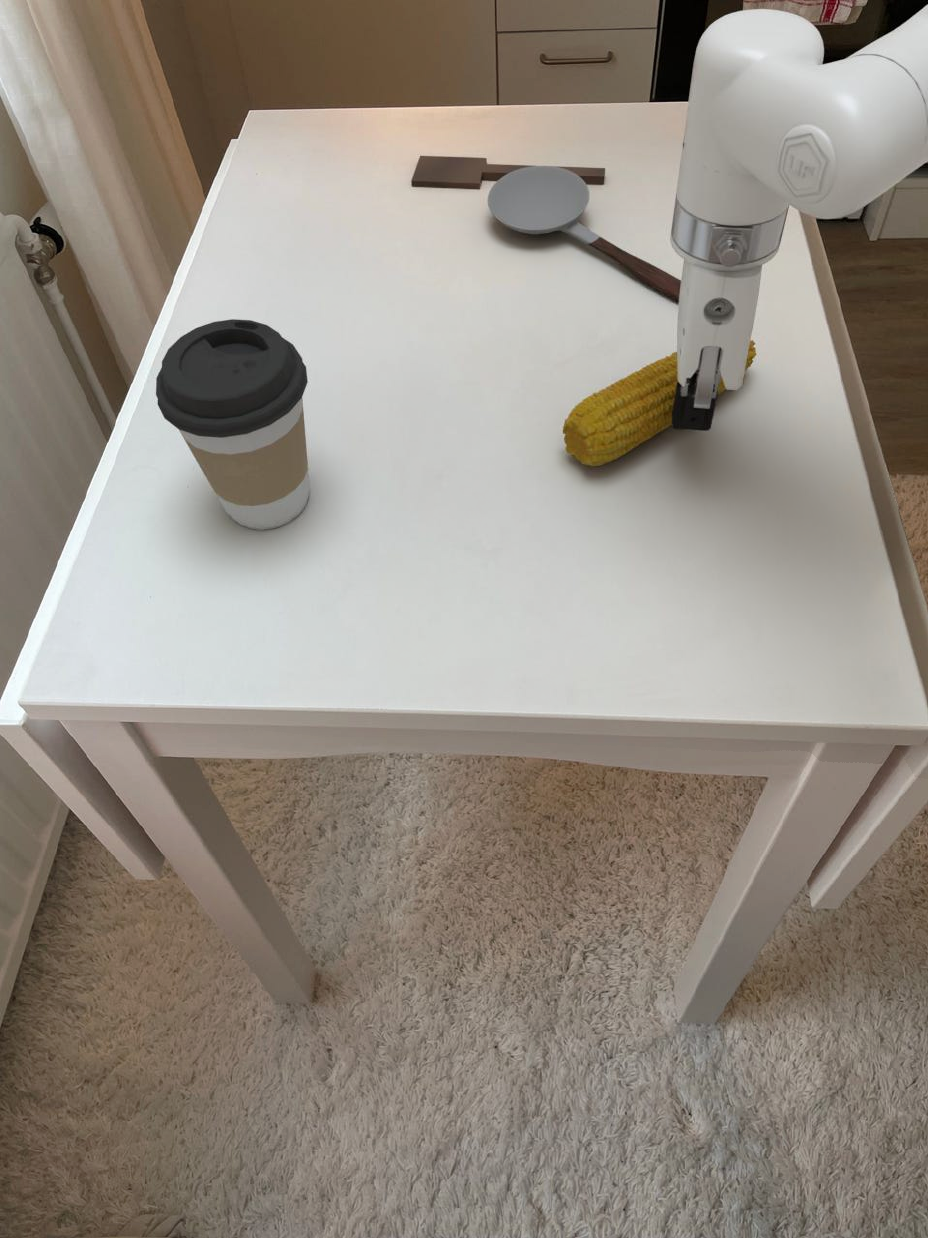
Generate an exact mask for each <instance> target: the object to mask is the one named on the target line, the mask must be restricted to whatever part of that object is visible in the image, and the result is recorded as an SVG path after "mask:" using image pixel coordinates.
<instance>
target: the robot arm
mask: <svg viewBox="0 0 928 1238" xmlns="http://www.w3.org/2000/svg"><path fill="white" fill-rule="evenodd" d="M824 55H825V46H824V40H823V37H822V35H821V33H820V31H819V30H818V28H817V27H816V26H815V25H814V24H813V23H812V22H811V21H809V20H807V18H805V17H803V16H800V15H797V14H795V13H791V12H788V11H783V10H778V9H770V8H769V9H768V8H753V9H745V10H737V11H735V12H731V13H728V14H725V15H723V16H721V17H720V18H718V19H716V20H714V21H713V22H712V23H711V24H710V25H709V26H708V27H707V28H706V29H705V30H704V32H703V33H702V35H701V37H700V38H699V40H698V43H697V46H696V50H695V55H694V59H693V65H692V73H691V81H690V86H689V87H690V88H689V94H688V95H689V96H688V103H687V108H686V109H687V110H686V117H685V126H684V132H683V141H682V145H681V147H682V148H681V153H680V154H681V155H680V162H679V169H678V170H679V171H678V177H677V185H676V190H675V192H676V193H675V200H674V207H673V215H672V223H671V229H670V236H669V240H670V245H671V247H672V249H673V250H674V252H675V253H676V254H677V256H679V257H680V258H681V259H683V264H682V271H681V278H680V280H681V286H680V295H679V302H678V309H677V324H676V352H677V377H678V380H677V386H676V392H675V398H674V404H673V411H672V425H671V428H673V429H675V430H685V431H686V430H687V431H699V432H701V431H702V432H707V431H709V430H711V429H712V423H713V420H714V419H713V418H714V414H715V409H716V404H717V401H718V399H717V398H718V395H719V394H718V390H717V389H718V385H719V381H720V377H721V375H722V379H723V382H724V385H725V388H726V389H725V390H727V391H728V390H729V391H731V390H732V391H738V390H739V389H740V388H741V387H742V386H743V383H744V379H745V373H746V372H745V366H746V361H747V356H748V350H749V345H750V341H751V340H752V334H753V329H754V323H755V316H756V312H757V306H758V300H759V296H760V295H759V294H760V288H761V287H760V286H761V279H762V278H761V277H762V270H763V265H765V264H767V263H768V262H770V261H771V260H773V258H775V257H776V255H777V254H778V252H779V250H780V246H781V242H782V239H783V238H782V237H783V234H784V229H785V225H786V221H787V216H788V212H789V209H790V208H789V207H790V206H791V207H792V208H793V209H795V210H797V211H799V212H801V213H802V214H804V215H808V216H809V217H811V218H816V219H823V220H831V219H840V218H844V217H846V216H849V215H852V214H854V213H856V212H858V211H859V210H861V209H863V208H864V207H866V206H867V205H869V204H871V203H872V202H873V201H875V200H876V199H877V198H879V197H880V196H882V194H884V193H886V192H887V191H889V190H890V189H892V188H893V187H894V186H896V185H897V184H898V183H899V182H901V181H903V180H904V179H905V178H907V177H908V176H909V175H911V174H912V173H914V172H915V171H916V170H918V169H919V168H920V167H922V166H923V165H924V164H926V163H927V162H928V4H926V5H925V6H923V8H922V9H920V10H919V11H918V12H916V13H915V14H914V15H912V16H911V17H910V18H909V19H907V20H906V21H905V22H903V23H902V24H900V25H899V26H898V27H896V28H895V29H894V30H891V31H890V32H888V33H887V34H885V35H883V36H881V37H879V38H877V39H876V40H874V41H872V42H871V43H869V44H867V45H865V46H864V47H862V48H861V49H859V50H858V51H855V52H854V53H853V54H850V55H849V56H847V57H845V58H844V59H840V60H836V61H832V62H828V63H823V62H824V57H825V56H824ZM744 372H745V373H744Z"/></svg>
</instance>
